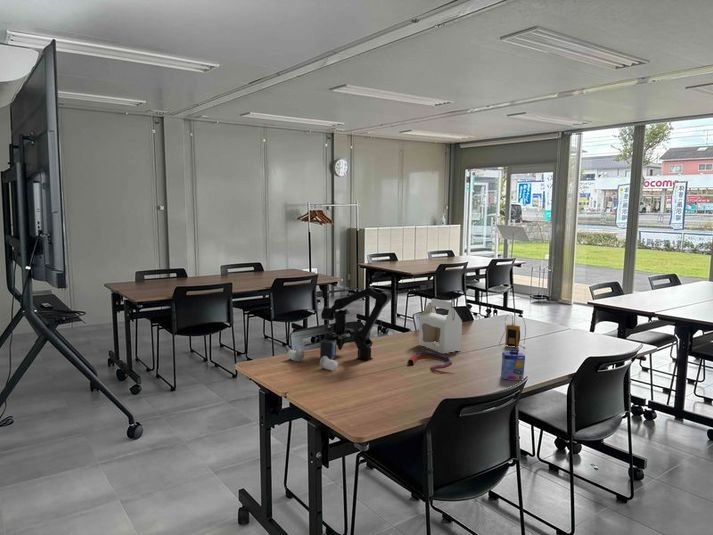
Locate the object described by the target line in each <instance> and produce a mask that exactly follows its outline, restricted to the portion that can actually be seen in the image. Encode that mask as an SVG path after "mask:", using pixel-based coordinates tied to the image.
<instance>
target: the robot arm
mask: <svg viewBox="0 0 713 535" xmlns="http://www.w3.org/2000/svg"><path fill="white" fill-rule="evenodd" d="M367 296H369V297H370V298H372V299H374V301H375V302H374V307H373V308H372V310H371V312H370V314H369V316H368V318H367V319H366V321H365V323H364V325H363V327H360V328H359V329H357V330H356V331H355V329H353V328H349V327H347V328H346V326H348V323H347V321H346V320H347V317H346V316H347V315H348V314H350V313H351V312H350V311H349V310H348V306H350V305H351V304H352V303H355V301H356V302H357V301H359V300H360V299H363V298H365V297H367ZM392 296H393V295H392V293H391V292H390V291H388V290H382V289H379V288H377V287H373V286H367V287H366V288H365V289H362V290H360V291H357V292H355V293H353V294H350V295H349V296H348V295H347V296H343V297H340V298H336V299H335V300H334V301H333V305H332V306H331V307H328V306H324V307H323V308H322V311H321V314H320V317H321V320H325V321H326V320H327V321H333V320H334V322H333V323H332V325H331V326H330V324H327V325H325V326H324V332H327V333H325V335H324V338H325V339H328V340H332V341H334V340H336V347H337V348H338V350H339V351H341V350H342V348H343V347H344V345H345V342H346V341H347V339H349V336H347V335H348V334H349V335H350V336H353V337H354V338H353V341H354V343H355V345H356V348H357V357H356V360H358V361H359V360H360V361H362V362H367V361H370V360H373V359H374V358H373V357H372V346H373V344H374V343H373V341H372V340H371V339H370V336H371V331H372V329H373V327H374V325H375V324H376V322H377V320H378V318H379V316H380V314H381V313H382V311H383V309H384V308H385V307H386V306H387V305H388V304H389V303H390V301H391V300H392Z"/></svg>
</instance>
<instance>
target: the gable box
mask: <svg viewBox="0 0 713 535" xmlns="http://www.w3.org/2000/svg"><path fill="white" fill-rule="evenodd" d="M436 308H439V309H443V310H448V311H447V316H446V315H443V314H439V313H437V311H436ZM462 331H463V320H462V319H461V317H460V316H459V314H458V313H457V311H456V309H455V308H454V304H453V303H452V302H450V301H446V300H441V299H438V298H434V297H433V298H431V300H430V302H428V303H427V305H426V307H425V308H424V310H423V311H422V313H421V314H420V315H419V327H418V345H419V344H420V345H422V346H425V347H428V348H430V349H429V350H431V349H433V350H432V351H434V350H436V351H435V352H437V351H439V352H441V353H440V354H442V353H447V354H449V353H448V352H453V353H455V352H454V351H458V352H460V351H459V350H462V336H463V335H462V333H463V332H462ZM434 341H436V342H439V346H436V345H435V344H433V343H431V342H434ZM420 345H419V346H420ZM422 346H421V347H422ZM425 347H424V348H425ZM428 348H427V349H428ZM439 352H438V353H439Z"/></svg>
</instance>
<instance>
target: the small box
mask: <svg viewBox="0 0 713 535" xmlns="http://www.w3.org/2000/svg"><path fill="white" fill-rule="evenodd" d="M319 349H320V351H319V355H320V356H319V360H320V359H321V358H322V357H323V356H327V357H328V358H329V359H330V360H335V358H336V357H337V343H336V340H334V341H332V340H328V339H325V337H324V338H323V339H322V340H320V348H319Z"/></svg>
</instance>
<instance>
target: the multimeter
mask: <svg viewBox="0 0 713 535" xmlns="http://www.w3.org/2000/svg"><path fill="white" fill-rule="evenodd" d="M510 316H512V318H511V324H505V325H504V330H505V331H504V332H503V334H502V336H501V339H500V341H499V343H498V345H499V344H500V345H501V342H502V340H503V336H505V345H508V346H515V347H518V346H519V347H520V345H519V344H520V341H521V326H520V325H515V324H516V323H515V322H516V321H515V320H516V319H515V317H517V316H520V317H521V318H522V320H523V322H524V324H526V322H525V319H524V317H523V316H522V315H521V314H516V315H515V316H513V313H510ZM507 317H508V315H506V317H505V318H504V320H507V319H506V318H507ZM524 329H525V330H524V336H527V335H526V334H527V327H526V325H524ZM504 334H505V335H504ZM523 339H524V340H523V343H526V342H525V340H526V338H523ZM505 345H504V346H505ZM519 347H518V348H519Z"/></svg>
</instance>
